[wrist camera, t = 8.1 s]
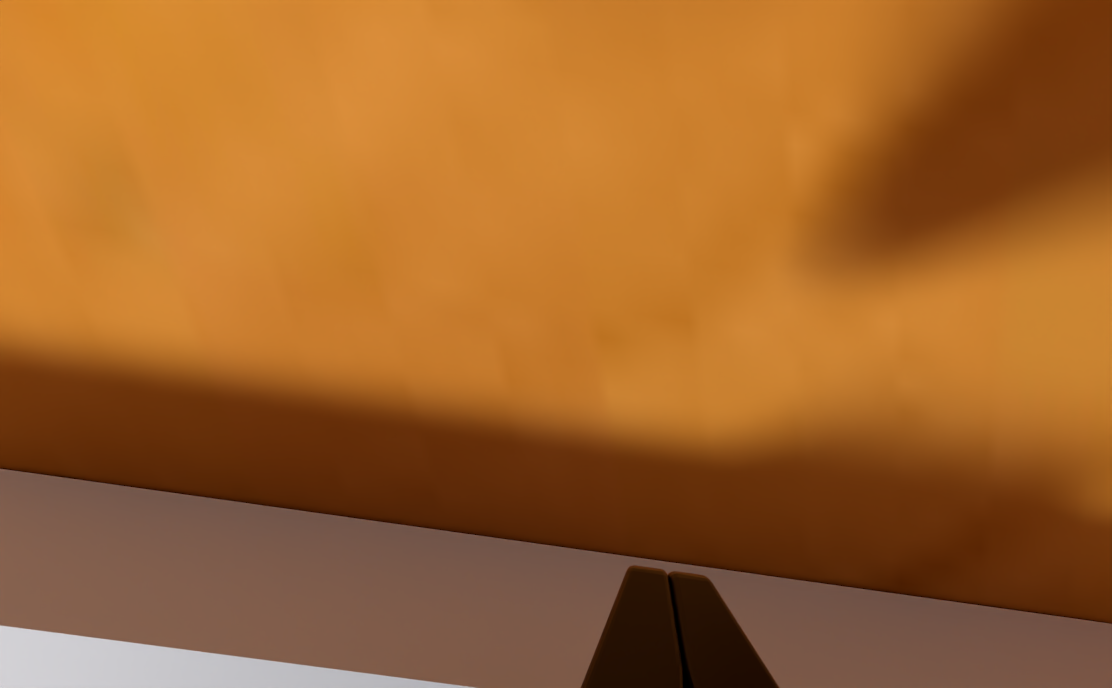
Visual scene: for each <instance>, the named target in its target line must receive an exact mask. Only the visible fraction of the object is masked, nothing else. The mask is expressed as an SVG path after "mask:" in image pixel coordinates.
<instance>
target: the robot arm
mask: <svg viewBox="0 0 1112 688" xmlns="http://www.w3.org/2000/svg"><path fill="white" fill-rule="evenodd" d="M581 688H779V686H778V684H777V683H776V681H775V680H774V678H773V677H772V675H771V674H770V672H769V670H768V669H767V667H766V666H765V664H764V663H763V661H762V659H761V658H760V656H759V655H758V653H757V652H756V650H755V649H754V647H753V645H752V644H751V642H750V641H749V639H748V638H747V636H746V635H745V633H744V631H743V630H742V628H741V627H740V625H739V624H738V622H737V620H736V619H735V617H734V616H733V614H732V613H731V611H730V610H729V608H728V606H727V605H726V603H725V602H724V600H723V599H722V597H721V595H720V594H719V592H718V591H717V589H716V588H715V586H714V585H713V583H712V582H711V580H710V579H709V578H707V577H706V576H704V575H700V574H693V573H686V572H679V571H672V572H670V573H668V575H667V573H666V572H665V571H664V570H663V569H658V568H651V567H644V566H637V565H632V566H630V567H629V568H628V569H627V571H626V573H625V576H624V578H623V581H622V583H621V586H620V588H619V591H618V593H617V596H616V599H615V601H614V604H613V606H612V609H611V611H610V614H609V616H608V619H607V621H606V624H605V627H604V629H603V632H602V634H601V637H600V639H599V642H598V644H597V647H596V650H595V652H594V655H593V657H592V660H591V662H590V665H589V667H588V670H587V672H586V675H585V678H584V680H583V683H582V685H581Z"/></svg>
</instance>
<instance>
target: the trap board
mask: <svg viewBox="0 0 1112 688" xmlns="http://www.w3.org/2000/svg"><path fill="white" fill-rule="evenodd" d="M632 565H637V566H644V567H651V568H658V569H663V570H664V571H665V572H666V573H667V575H668V573H670V572H672V571H679V572H686V573H693V574H700V575H704V576H706V577H707V578H709V579H710V580H711V582H712V583H713V585H714V586H715V588H716V589H717V591H718V592H719V594H720V595H721V597H722V599H723V600H724V602H725V603H726V605H727V606H728V608H729V610H730V611H731V613H732V614H733V616H734V617H735V619H736V620H737V622H738V624H739V625H740V627H741V628H742V630H743V631H744V633H745V635H746V636H747V638H748V639H749V641H750V642H751V644H752V645H753V647H754V649H755V650H756V652H757V653H758V655H759V656H760V658H761V659H762V661H763V663H764V664H765V666H766V667H767V669H768V670H769V672H770V674H771V675H772V677H773V678H774V680H775V681H776V683H777V684H778V686H779V688H1112V624H1110V623H1103V622H1096V621H1089V620H1081V619H1074V618H1067V617H1060V616H1053V615H1046V614H1038V613H1031V612H1024V611H1017V610H1010V609H1003V608H995V607H988V606H981V605H974V604H967V603H960V602H952V601H945V600H938V599H931V598H924V597H917V596H909V595H902V594H895V593H888V592H881V591H874V590H866V589H859V588H852V587H845V586H838V585H831V584H823V583H816V582H809V581H802V580H795V579H788V578H780V577H773V576H766V575H759V574H752V573H745V572H737V571H730V570H723V569H716V568H709V567H702V566H694V565H687V564H680V563H673V562H666V561H659V560H651V559H644V558H637V557H630V556H623V555H616V554H608V553H601V552H594V551H587V550H580V549H573V548H565V547H558V546H551V545H544V544H537V543H530V542H522V541H515V540H508V539H501V538H494V537H487V536H479V535H472V534H465V533H458V532H451V531H444V530H436V529H429V528H422V527H415V526H408V525H400V524H393V523H386V522H379V521H372V520H365V519H357V518H350V517H343V516H336V515H329V514H322V513H314V512H307V511H300V510H293V509H286V508H279V507H271V506H264V505H257V504H250V503H243V502H236V501H228V500H221V499H214V498H207V497H200V496H193V495H185V494H178V493H171V492H164V491H157V490H150V489H142V488H135V487H128V486H121V485H114V484H107V483H99V482H92V481H85V480H78V479H71V478H64V477H56V476H49V475H42V474H35V473H28V472H21V471H13V470H6V469H0V688H581V685H582V683H583V680H584V678H585V675H586V672H587V670H588V667H589V665H590V662H591V660H592V657H593V655H594V652H595V650H596V647H597V644H598V642H599V639H600V637H601V634H602V632H603V629H604V627H605V624H606V621H607V619H608V616H609V614H610V611H611V609H612V606H613V604H614V601H615V599H616V596H617V593H618V591H619V588H620V586H621V583H622V581H623V578H624V576H625V573H626V571H627V569H628V568H629V567H630V566H632Z"/></svg>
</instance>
